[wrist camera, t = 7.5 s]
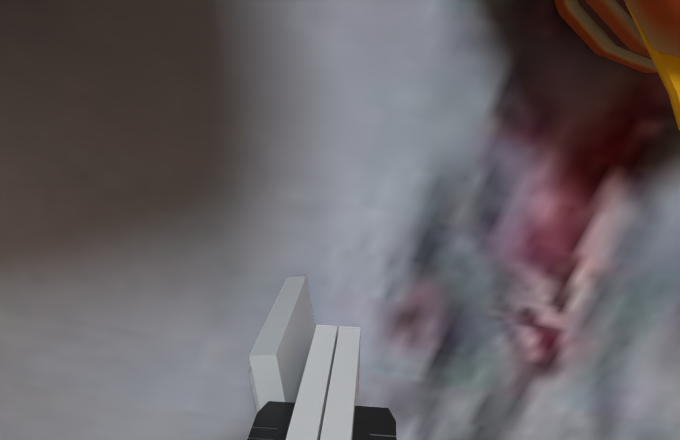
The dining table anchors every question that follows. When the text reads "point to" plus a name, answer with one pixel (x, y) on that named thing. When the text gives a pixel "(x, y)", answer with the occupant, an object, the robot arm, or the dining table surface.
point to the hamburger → (632, 35)
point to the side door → (283, 345)
